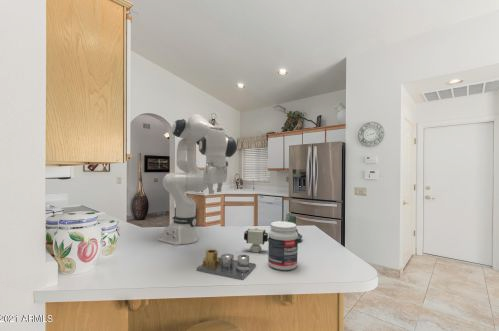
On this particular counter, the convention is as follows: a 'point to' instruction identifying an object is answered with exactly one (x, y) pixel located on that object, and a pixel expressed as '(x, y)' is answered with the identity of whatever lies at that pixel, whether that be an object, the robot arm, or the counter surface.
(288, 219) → the tree stump
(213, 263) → the gear
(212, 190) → the robot arm
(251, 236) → the pneumatic valve
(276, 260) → the supplement tub
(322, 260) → the counter surface
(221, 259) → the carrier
